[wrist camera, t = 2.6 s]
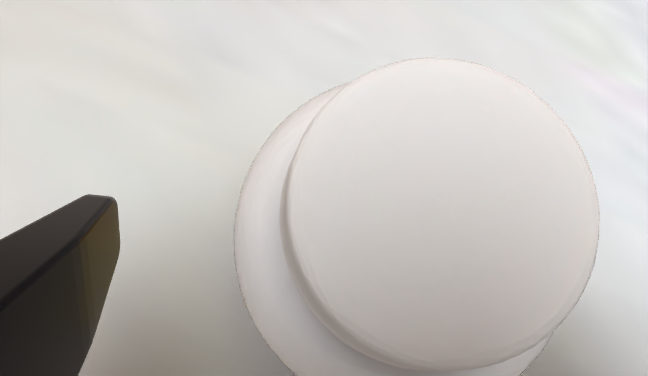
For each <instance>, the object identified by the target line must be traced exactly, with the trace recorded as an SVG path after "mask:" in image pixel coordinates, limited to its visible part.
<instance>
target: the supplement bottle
mask: <svg viewBox="0 0 648 376" xmlns="http://www.w3.org/2000/svg"><path fill="white" fill-rule="evenodd" d="M599 214H600V211H599V205H598V198H597V193H596V188H595V184H594V180H593V176H592V173H591V170H590V168H589V165H588V163H587V160H586V158H585V156H584V153H583V151H582V149H581V147H580V146H579V144H578V142H577V141H576V139H575V137H574V136H573V134H572V133H571V131H570V130H569V128H568V127H567V125H566V124H565V123H564V122H563V121H562V119H561V118H560V117H559V116H558V115H557V114H556V113H555V111H554V110H553V109H552V108H551V107H550V106H549V105H548V104H547V103H546V102H545V101H543V100H542V99H541V98H540V97H539V96H537V95H536V94H535V93H534V92H532V91H531V90H530V89H528V88H527V87H526V86H524V85H523V84H521V83H520V82H518V81H516V80H514V79H513V78H511V77H509V76H507V75H505V74H503V73H500V72H498V71H496V70H493V69H491V68H488V67H485V66H482V65H479V64H476V63H473V62H468V61H463V60H457V59H449V58H419V59H410V60H405V61H400V62H396V63H392V64H389V65H385V66H382V67H380V68H378V69H375V70H373V71H371V72H369V73H366V74H364V75H362V76H360V77H359V78H357V79H356V80H354V81H353V82H350V83H346V84H343V85H341V86H338V87H335V88H333V89H330V90H328V91H326V92H324V93H322V94H320V95H318V96H316V97H315V98H313V99H311V100H309V101H308V102H306V103H305V104H304V105H302V106H301V107H299V108H298V109H297V110H296V111H294V112H293V113H292V114H291V115H289V116H288V117H287V118H286V119H285V120H284V121H283V122H282V123H281V124H280V125H279V126H278V127H277V128H276V129H275V130H274V132H273V133H272V134H271V135H270V137H269V138H268V139H267V141H266V142H265V144H264V145H263V146H262V148H261V149H260V151H259V152H258V154H257V156H256V158H255V159H254V161H253V163H252V165H251V167H250V169H249V171H248V174H247V176H246V178H245V181H244V184H243V186H242V189H241V192H240V197H239V201H238V206H237V210H236V215H235V225H234V255H235V264H236V270H237V275H238V280H239V285H240V289H241V292H242V295H243V298H244V301H245V304H246V307H247V309H248V311H249V313H250V316H251V318H252V320H253V322H254V323H255V325H256V327H257V329H258V330H259V332H260V334H261V335H262V337H263V338H264V340H265V341H266V343H267V344H268V345H269V347H270V348H271V349H272V350H273V352H274V353H275V354H276V355H277V356H278V357H279V358H280V360H281V361H282V362H283V363H284V364H285V365H286V366H287V367H288V368H289V369H290V370H292V371H293V372H294V373H295V374H296V375H297V376H519V375H520V374H521V373H522V372H523V371H524V370H525V369H526V368H527V367H528V366H529V365H530V363H531V362H532V361H533V360H534V359H535V358H536V357H537V356H538V355H539V354H540V352H541V351H542V350H543V348H544V347H545V345H546V343H547V342H548V340H549V338H550V336H551V335H552V333H553V331H554V330H555V329H556V328H557V327H558V326H559V325H560V324H561V323H562V321H563V320H564V319H565V318H566V317H567V316H568V315H569V313H570V312H571V311H572V309H573V308H574V306H575V305H576V303H577V302H578V300H579V298H580V296H581V295H582V293H583V291H584V289H585V287H586V284H587V282H588V280H589V278H590V276H591V272H592V269H593V266H594V263H595V258H596V252H597V247H598V240H599Z"/></svg>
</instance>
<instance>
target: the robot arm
mask: <svg viewBox="0 0 648 376" xmlns="http://www.w3.org/2000/svg"><path fill="white" fill-rule="evenodd" d="M119 251H120V233H119V219H118V206H117V202H116V200H115V199H114V198H113V197H109V196H100V195H90V194H88V195H85V196H82V197H80V198H78V199H77V200H75V201H73V202H71V203H69V204H67V205H65V206H63V207H61V208H60V209H58V210H56V211H54V212H52V213H50V214H48V215H46V216H44V217H42V218H41V219H39V220H37V221H35V222H33V223H31V224H29V225H27V226H25V227H23V228H22V229H20V230H18V231H16V232H14V233H12V234H10V235H8V236H6V237H4V238H3V239H1V240H0V376H78V374H79V372H80V370H81V367H82V365H83V363H84V361H85V358H86V356H87V354H88V351H89V349H90V346H91V344H92V341H93V338H94V335H95V332H96V329H97V325H98V322H99V319H100V316H101V312H102V309H103V306H104V303H105V299H106V296H107V293H108V289H109V286H110V283H111V280H112V276H113V273H114V270H115V267H116V263H117V260H118V257H119Z"/></svg>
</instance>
